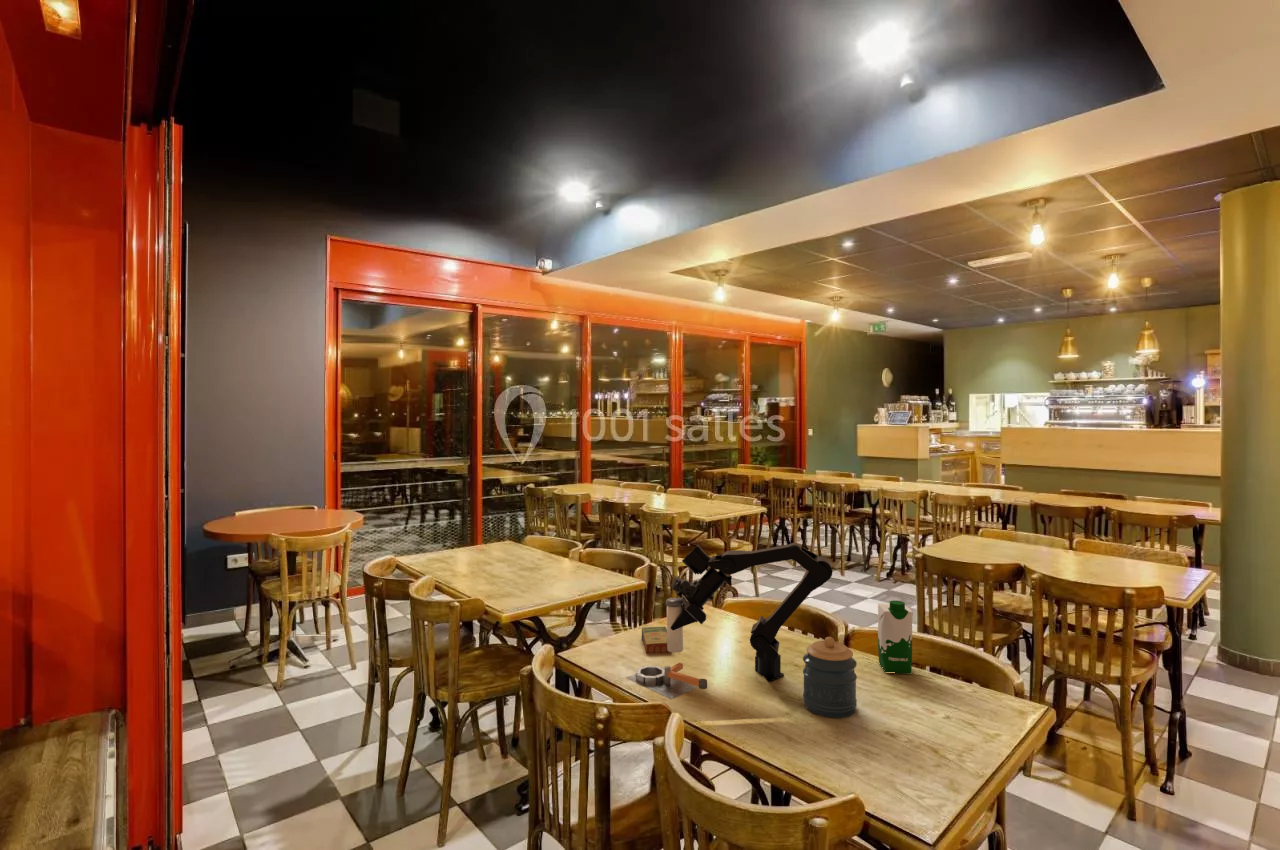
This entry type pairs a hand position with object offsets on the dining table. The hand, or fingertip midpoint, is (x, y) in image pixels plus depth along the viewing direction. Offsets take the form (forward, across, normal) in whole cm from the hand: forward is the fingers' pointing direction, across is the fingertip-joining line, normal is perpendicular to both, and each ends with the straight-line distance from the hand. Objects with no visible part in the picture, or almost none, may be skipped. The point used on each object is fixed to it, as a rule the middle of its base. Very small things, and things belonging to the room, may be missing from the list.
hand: (670, 626), depth 180 cm
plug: (+4, 0, +6) cm, 7 cm away
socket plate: (+12, +8, +6) cm, 16 cm away
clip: (+6, +11, +11) cm, 17 cm away
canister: (-16, +26, +36) cm, 47 cm away
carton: (+11, -21, +9) cm, 25 cm away
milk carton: (-36, +6, +56) cm, 67 cm away
